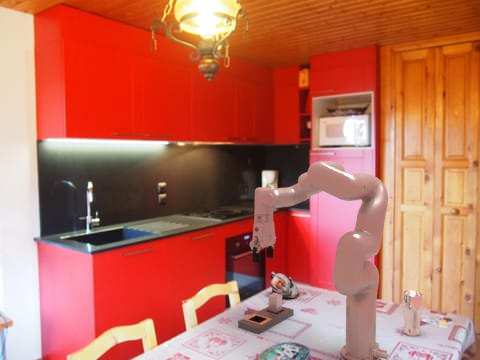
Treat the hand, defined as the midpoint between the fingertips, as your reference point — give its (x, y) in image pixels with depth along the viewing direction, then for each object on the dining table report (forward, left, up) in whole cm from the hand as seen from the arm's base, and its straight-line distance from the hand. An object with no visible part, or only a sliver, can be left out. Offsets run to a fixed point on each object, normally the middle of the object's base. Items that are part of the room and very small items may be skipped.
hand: (263, 260), depth 162 cm
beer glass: (-51, -24, -25) cm, 62 cm away
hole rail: (-3, +2, -24) cm, 25 cm away
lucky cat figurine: (+9, -29, -25) cm, 39 cm away
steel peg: (-3, -4, -24) cm, 24 cm away
